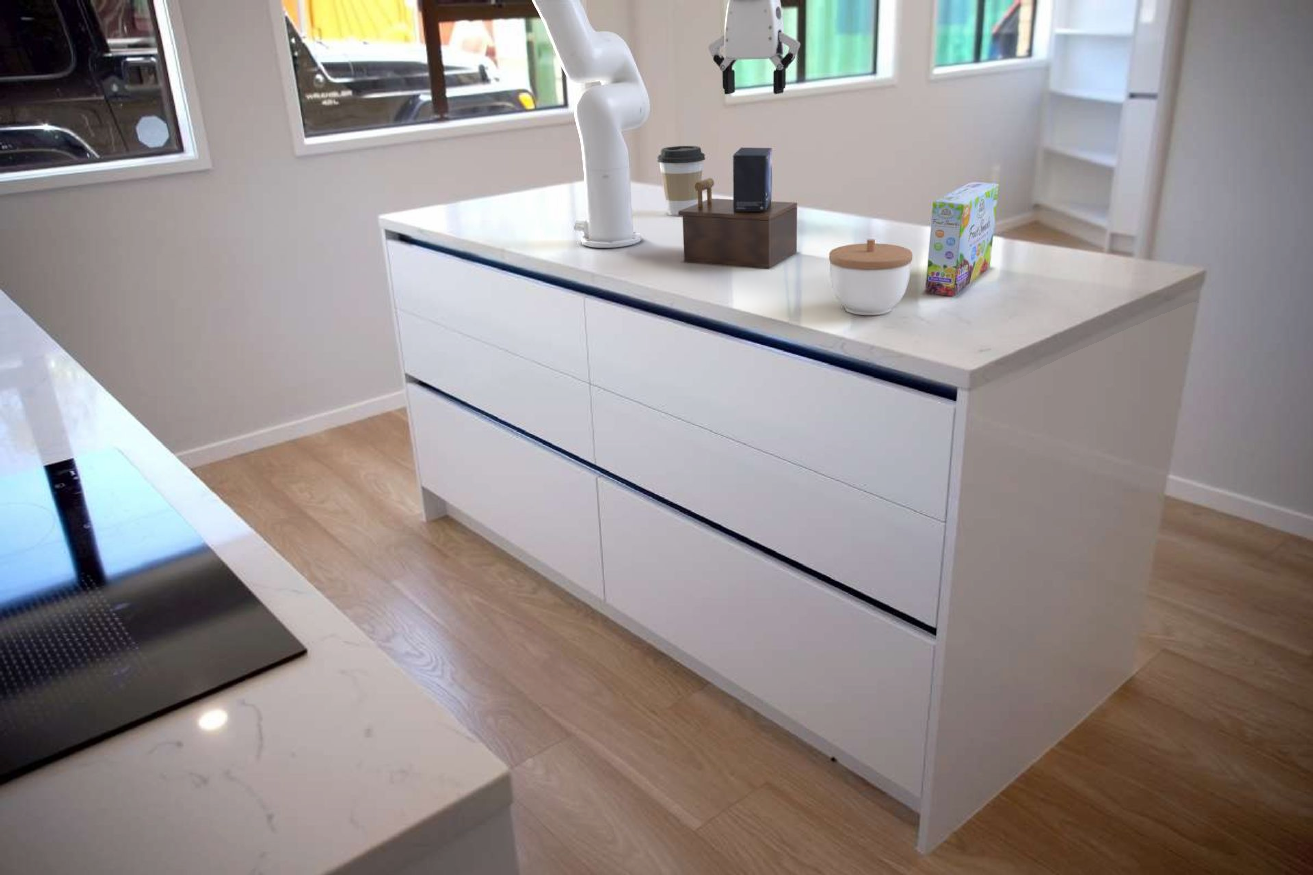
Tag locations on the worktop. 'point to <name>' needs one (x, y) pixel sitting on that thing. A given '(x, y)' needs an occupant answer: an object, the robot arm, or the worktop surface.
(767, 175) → the small box
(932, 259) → the snack box
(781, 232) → the chest
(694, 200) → the coffee cup
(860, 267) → the lidded bowl
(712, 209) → the lid
